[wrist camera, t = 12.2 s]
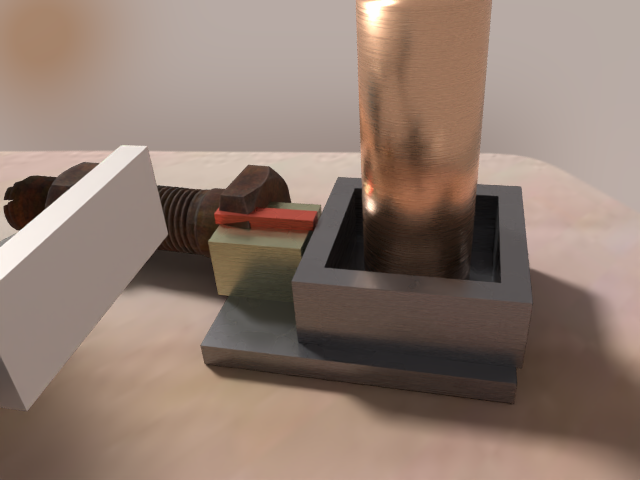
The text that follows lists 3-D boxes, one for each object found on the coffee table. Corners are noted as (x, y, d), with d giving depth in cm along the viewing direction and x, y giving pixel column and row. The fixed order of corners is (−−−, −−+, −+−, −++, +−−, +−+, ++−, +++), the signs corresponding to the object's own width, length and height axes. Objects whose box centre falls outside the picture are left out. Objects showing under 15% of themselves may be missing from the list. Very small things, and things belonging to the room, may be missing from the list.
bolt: (55, 252, 35) (289, 283, 31) (-19, 260, 31) (244, 298, 26) (58, 153, 35) (297, 169, 30) (-16, 145, 30) (253, 163, 25)
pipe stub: (357, 315, 25) (344, 9, 18) (373, 256, 28) (366, -17, 22) (467, 325, 24) (494, 5, 17) (469, 263, 27) (491, -21, 21)
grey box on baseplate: (188, 361, 24) (168, 276, 22) (263, 232, 33) (253, 160, 30) (519, 404, 22) (535, 311, 19) (510, 250, 30) (521, 172, 27)
